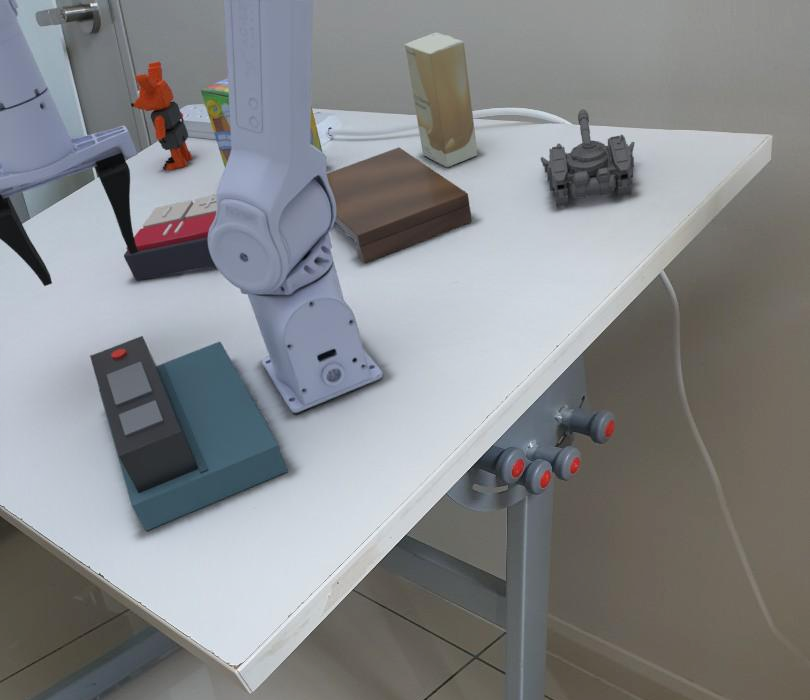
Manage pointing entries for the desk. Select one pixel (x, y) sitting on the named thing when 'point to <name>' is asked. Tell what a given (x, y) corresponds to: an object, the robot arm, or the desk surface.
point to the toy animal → (163, 115)
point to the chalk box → (220, 118)
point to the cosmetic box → (442, 98)
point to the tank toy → (590, 166)
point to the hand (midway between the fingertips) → (90, 265)
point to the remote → (141, 415)
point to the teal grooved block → (209, 438)
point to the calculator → (174, 239)
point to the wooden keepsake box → (395, 203)
